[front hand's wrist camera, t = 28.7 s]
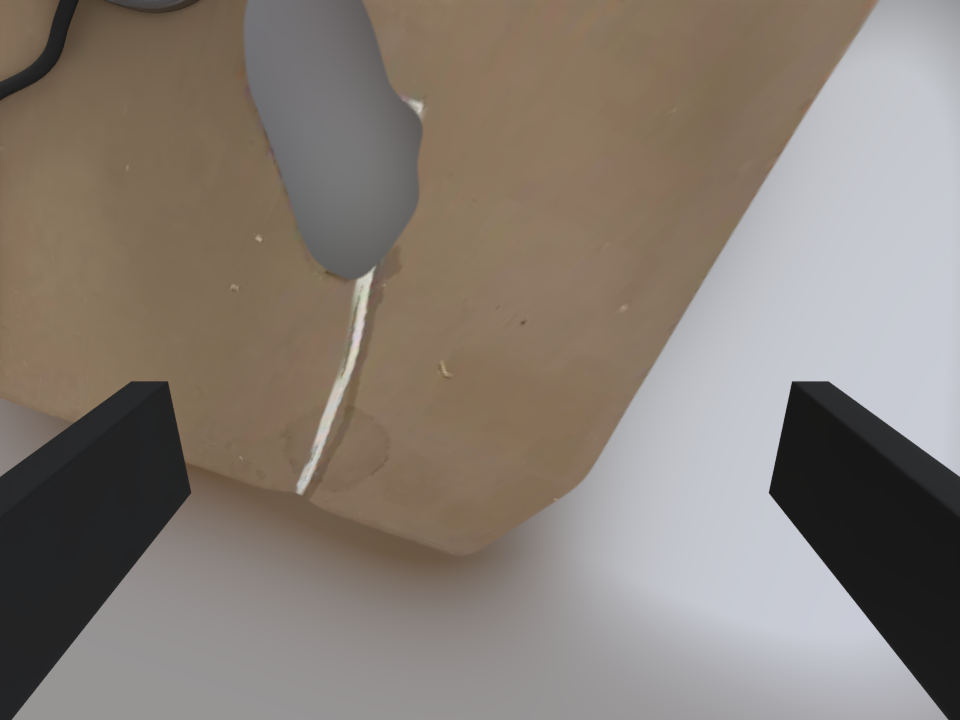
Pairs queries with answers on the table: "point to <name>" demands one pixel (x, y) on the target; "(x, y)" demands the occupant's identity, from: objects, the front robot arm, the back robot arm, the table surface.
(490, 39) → the table surface
